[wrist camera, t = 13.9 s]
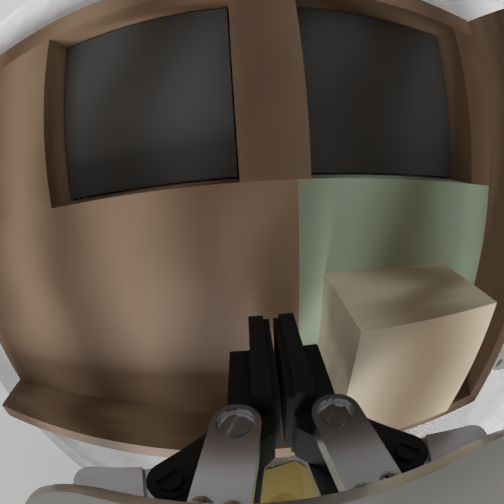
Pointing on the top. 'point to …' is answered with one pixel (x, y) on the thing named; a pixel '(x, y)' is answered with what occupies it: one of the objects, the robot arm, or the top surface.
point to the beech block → (401, 338)
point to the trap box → (230, 192)
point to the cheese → (287, 483)
